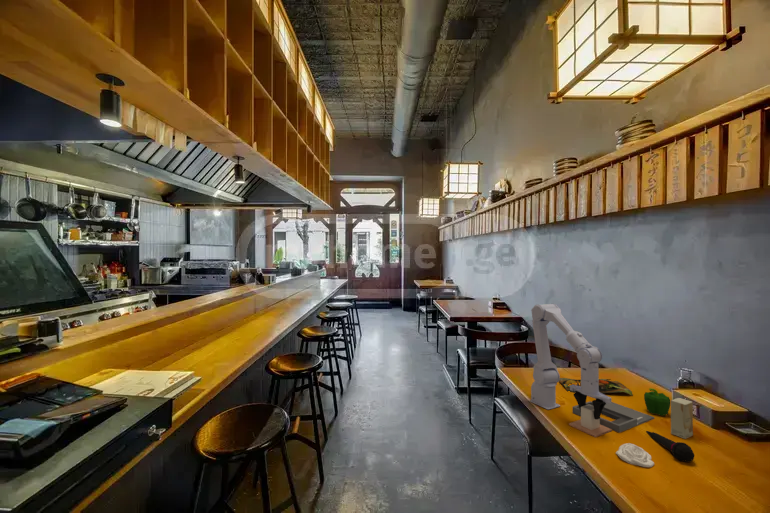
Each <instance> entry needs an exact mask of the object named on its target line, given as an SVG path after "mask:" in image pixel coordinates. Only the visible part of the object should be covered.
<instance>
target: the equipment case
mask: <svg viewBox="0 0 770 513" xmlns="http://www.w3.org/2000/svg"><path fill="white" fill-rule="evenodd" d="M586 405H592V406H593V403H592V400H590V401H586ZM571 407H572V408H571V409H572V414H575V415H577V416H579V417H581V413H580V409H579V406H578V404H577V405H574V406H571ZM601 415H602V416H606V417H608V418H611V419H612V421H610V420H608V419H605V418H604V417H601V416H600V424H601V425H603V426H605V427H608V428H610V429H612V431H614V432H616V433H619V434H620V433H623V432H625V431H627V430H629V429H631V428H635V427H637V426H639V425H642V424H645V423H647V422H650V421H652V420H654V419H655V417H654V416H652V415H650V414H648V413H644V412H641V411H638V410H635V409H633V408H629V407H627V406H624V405H622V404H618V403H616V402H614V401H611V403H610V404H607V403H606V405H605V406H604V408H603V410H602V412H601Z"/></svg>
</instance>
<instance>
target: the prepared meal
mask: <svg viewBox="0 0 770 513" xmlns="http://www.w3.org/2000/svg"><path fill="white" fill-rule="evenodd" d="M558 383H559V384H561V385H562V386H564V388H565V389H566V392H568V391H570V392H569V393H573V394H574V393H575V392H576V391H571V390H570V385H569V384H572V383H577V384H576V385H577V386H581V379H575V378H568V377H560V380H559V382H558ZM579 383H580V385H579ZM564 384H565V385H564ZM568 385H569V386H568ZM572 385H573V384H572ZM599 392H600V393H602V394H608V393H609V394H612V393H625V394H628V395H630V396H633V395H634V394H633V391H632V390H631V389H630V388H628V387H627V386H625V385H624V384H623V383H622V382H620V381H618V380H612V379H611V378H599Z"/></svg>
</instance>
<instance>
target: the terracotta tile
mask: <svg viewBox="0 0 770 513" xmlns="http://www.w3.org/2000/svg"><path fill="white" fill-rule="evenodd" d="M568 426H570V427H573V428H574V429H577V430H579V431H581V432H583V433H585V434H587V435H590V436H591V437H594V438H598V437H600V436H602V435H605V434H608V433H611V432H613V430H612V429H610V428H608V427H605V426H603V425H601V424H600V427H599V428H596V429H593V430H590V429H588V428H586V427H583V426H581V419H578V420H575V421H572V422H569V423H568Z"/></svg>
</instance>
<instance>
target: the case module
mask: <svg viewBox="0 0 770 513" xmlns="http://www.w3.org/2000/svg"><path fill="white" fill-rule="evenodd" d="M580 420H581V426H583V427H586V428H588V429H590V430H593V429H596V428H599V427H600V419H597V420H596V419H595V418H594V406H592V405H585V406H582V407H581V416H580Z"/></svg>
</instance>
